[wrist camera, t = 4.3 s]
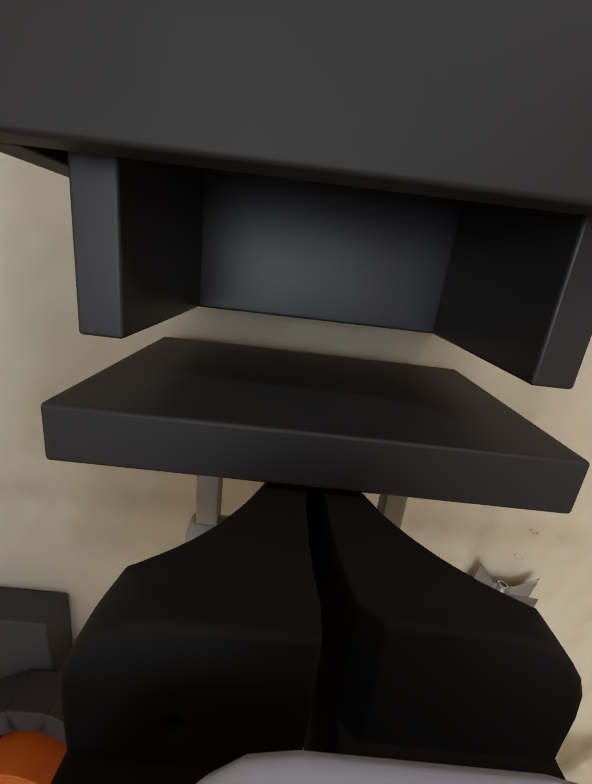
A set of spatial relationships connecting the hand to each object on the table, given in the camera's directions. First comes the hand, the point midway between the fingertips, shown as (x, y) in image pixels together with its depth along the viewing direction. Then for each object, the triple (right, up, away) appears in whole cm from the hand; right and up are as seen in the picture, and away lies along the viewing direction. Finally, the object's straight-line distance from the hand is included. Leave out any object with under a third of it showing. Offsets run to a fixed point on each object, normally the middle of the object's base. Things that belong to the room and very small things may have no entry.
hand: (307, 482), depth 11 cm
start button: (-12, -14, +6) cm, 19 cm away
